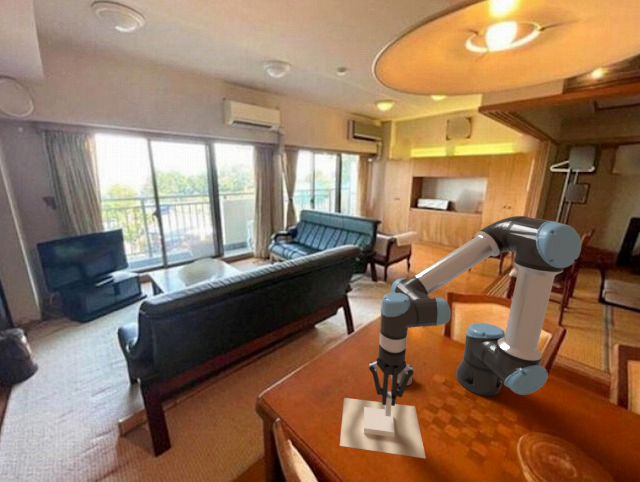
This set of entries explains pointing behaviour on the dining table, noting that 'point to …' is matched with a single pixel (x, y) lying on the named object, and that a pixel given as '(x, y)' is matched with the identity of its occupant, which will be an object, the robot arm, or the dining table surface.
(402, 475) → the dining table surface
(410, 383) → the stone
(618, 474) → the dining table surface
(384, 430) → the tile
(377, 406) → the cloth
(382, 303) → the robot arm
